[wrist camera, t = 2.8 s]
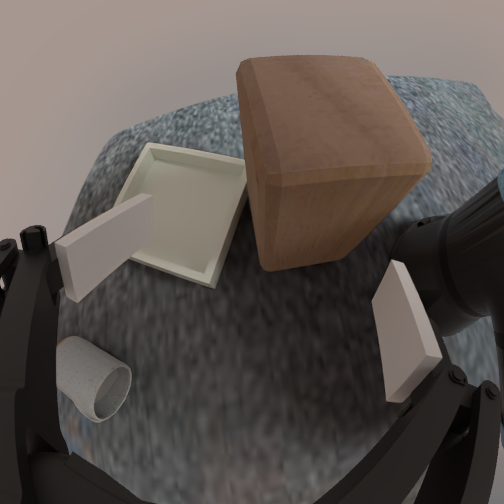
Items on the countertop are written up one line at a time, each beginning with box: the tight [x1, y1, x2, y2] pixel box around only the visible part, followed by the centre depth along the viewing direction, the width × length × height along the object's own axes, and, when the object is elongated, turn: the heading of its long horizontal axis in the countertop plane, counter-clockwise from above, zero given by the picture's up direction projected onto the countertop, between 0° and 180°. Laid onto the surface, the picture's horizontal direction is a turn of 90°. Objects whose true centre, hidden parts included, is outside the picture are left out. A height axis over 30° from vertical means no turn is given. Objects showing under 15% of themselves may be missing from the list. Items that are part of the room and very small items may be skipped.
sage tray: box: [113, 142, 248, 289], centre depth 31 cm, size 15×15×4 cm
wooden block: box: [236, 55, 432, 272], centre depth 22 cm, size 10×10×20 cm
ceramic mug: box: [56, 336, 132, 423], centre depth 24 cm, size 11×8×8 cm
